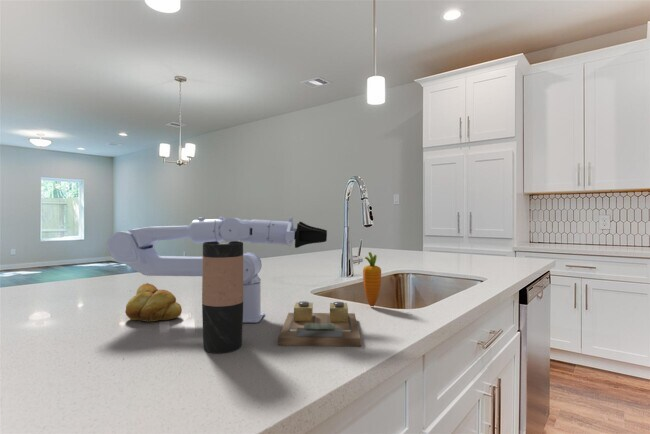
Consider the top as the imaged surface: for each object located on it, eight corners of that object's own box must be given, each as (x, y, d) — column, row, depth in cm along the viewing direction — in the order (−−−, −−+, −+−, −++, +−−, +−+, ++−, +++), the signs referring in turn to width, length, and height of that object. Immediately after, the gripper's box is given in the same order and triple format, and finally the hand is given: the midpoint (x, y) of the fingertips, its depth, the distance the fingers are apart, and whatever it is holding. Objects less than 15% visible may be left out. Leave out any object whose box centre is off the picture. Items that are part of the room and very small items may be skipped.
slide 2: (329, 321, 83) (329, 305, 83) (329, 315, 88) (329, 300, 88) (347, 321, 83) (347, 305, 83) (346, 315, 88) (346, 300, 88)
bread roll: (189, 315, 93) (189, 283, 93) (163, 327, 83) (163, 291, 83) (146, 312, 96) (146, 281, 96) (116, 322, 87) (116, 288, 87)
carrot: (380, 310, 99) (380, 253, 99) (361, 309, 100) (362, 253, 100) (381, 305, 104) (381, 251, 104) (363, 304, 105) (364, 251, 105)
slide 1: (293, 321, 83) (293, 305, 83) (295, 315, 88) (296, 300, 88) (311, 321, 83) (311, 305, 83) (312, 315, 88) (312, 300, 88)
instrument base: (278, 345, 72) (278, 325, 72) (288, 318, 90) (288, 302, 90) (360, 346, 72) (360, 326, 72) (354, 319, 90) (354, 303, 90)
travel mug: (221, 357, 66) (221, 244, 66) (193, 348, 70) (193, 242, 70) (251, 344, 73) (252, 242, 72) (224, 337, 77) (224, 240, 76)
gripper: (267, 216, 83) (327, 220, 83) (275, 215, 97) (327, 218, 97) (265, 248, 83) (325, 251, 83) (274, 241, 98) (325, 245, 98)
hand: (326, 235), depth 90 cm, fingers open, 7 cm apart
